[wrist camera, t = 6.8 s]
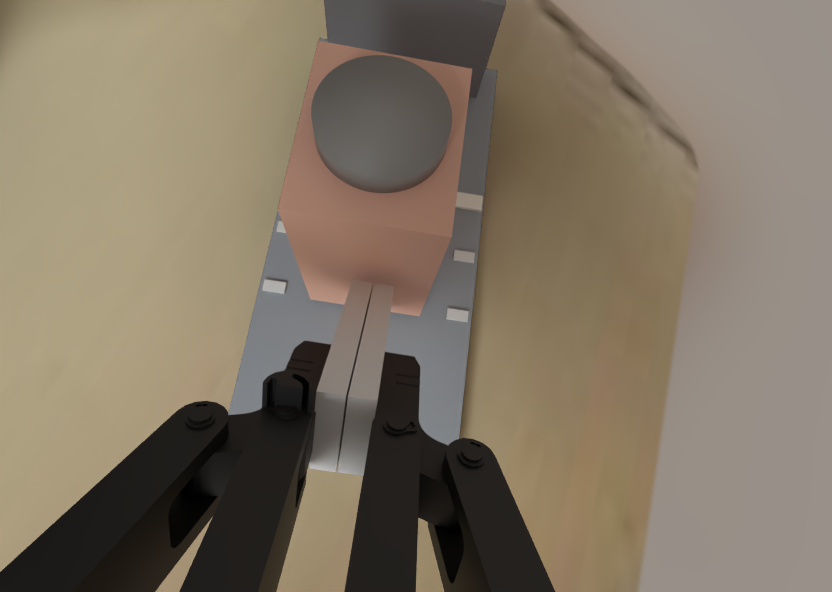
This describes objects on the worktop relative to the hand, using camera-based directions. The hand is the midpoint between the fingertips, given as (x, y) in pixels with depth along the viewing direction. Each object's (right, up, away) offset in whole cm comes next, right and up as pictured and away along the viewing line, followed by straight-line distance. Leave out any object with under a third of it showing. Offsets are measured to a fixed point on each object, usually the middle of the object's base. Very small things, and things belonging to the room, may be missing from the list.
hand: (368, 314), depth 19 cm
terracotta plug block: (0, +3, +5) cm, 6 cm away
